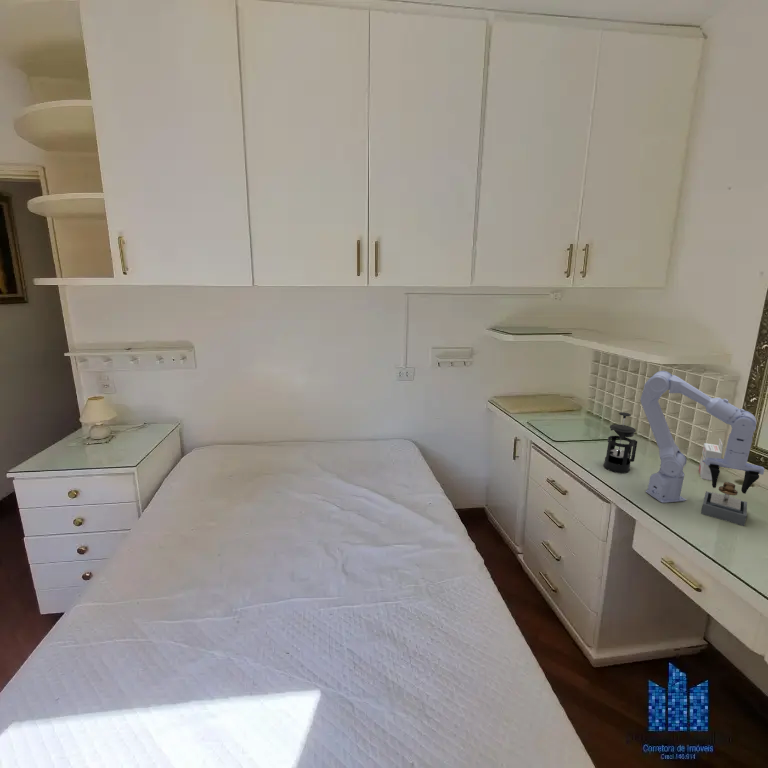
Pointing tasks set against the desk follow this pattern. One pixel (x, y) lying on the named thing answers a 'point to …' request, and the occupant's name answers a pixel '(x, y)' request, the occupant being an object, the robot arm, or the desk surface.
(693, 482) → the desk surface
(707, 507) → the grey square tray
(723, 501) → the plunger
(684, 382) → the robot arm
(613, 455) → the french press
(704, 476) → the ink cartridge box
